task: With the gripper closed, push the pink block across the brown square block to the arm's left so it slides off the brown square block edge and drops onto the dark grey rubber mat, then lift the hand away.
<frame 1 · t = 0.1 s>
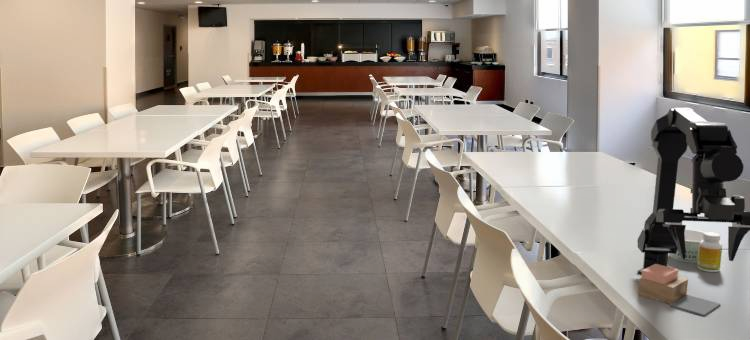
hand: (707, 259, 133), 15 cm above the table, tool pointing down, fingers open, 9 cm apart
food container: (687, 258, 183), on the table
brown square block: (662, 294, 155), on the table
supplement bottle: (708, 269, 173), on the table
mat: (695, 305, 149), on the table
pink block: (659, 277, 155), point 4 cm above the table, touching brown square block
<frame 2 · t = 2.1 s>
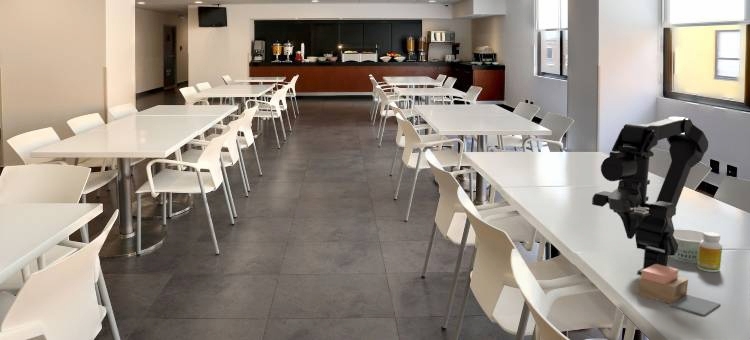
hand: (630, 238, 159), 12 cm above the table, tool pointing down, fingers closed
nothing on the table moved.
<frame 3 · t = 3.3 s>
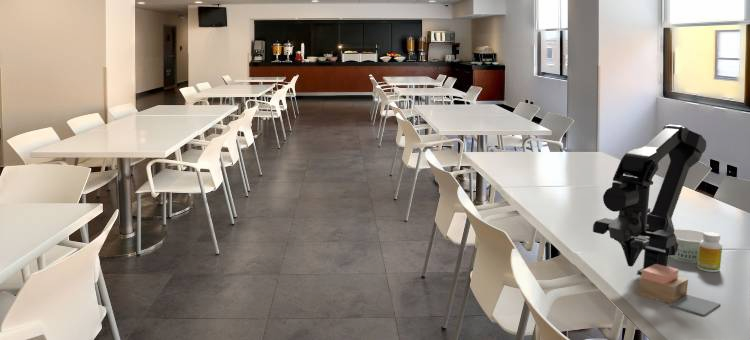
hand: (630, 266, 160), 5 cm above the table, tool pointing down, fingers closed
nothing on the table moved.
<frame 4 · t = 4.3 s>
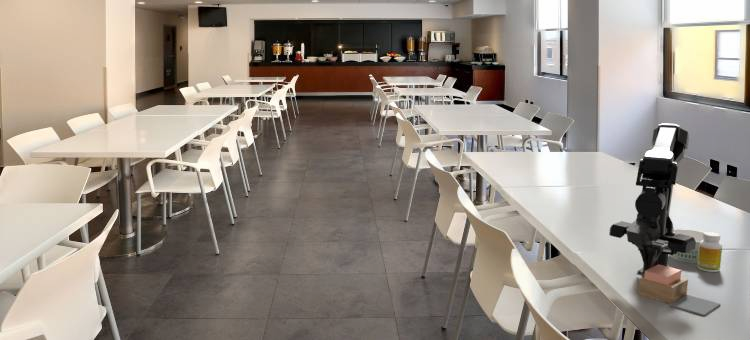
hand: (648, 270, 157), 5 cm above the table, tool pointing down, fingers closed
pink block: (662, 278, 155), point 4 cm above the table, touching gripper
everything else where it was.
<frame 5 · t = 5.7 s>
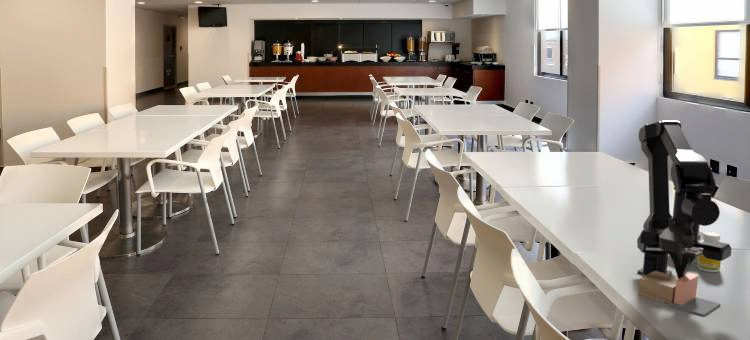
hand: (680, 278, 151), 5 cm above the table, tool pointing down, fingers closed
pink block: (681, 287, 151), point 3 cm above the table, tilted 92°, touching gripper, mat
everything else where it was.
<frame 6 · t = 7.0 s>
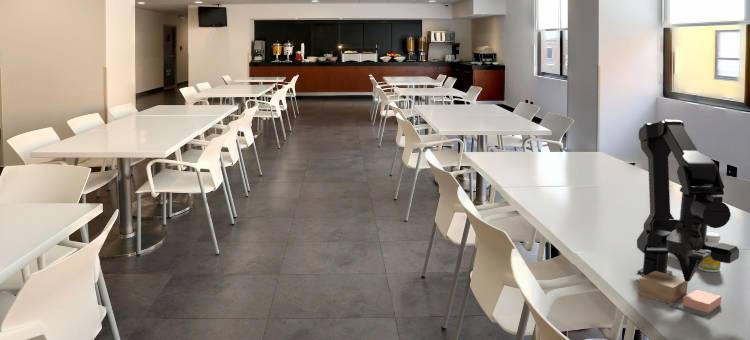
hand: (687, 281, 150), 5 cm above the table, tool pointing down, fingers closed
pink block: (702, 296, 148), point 2 cm above the table, tilted 180°, touching mat
everything else where it was.
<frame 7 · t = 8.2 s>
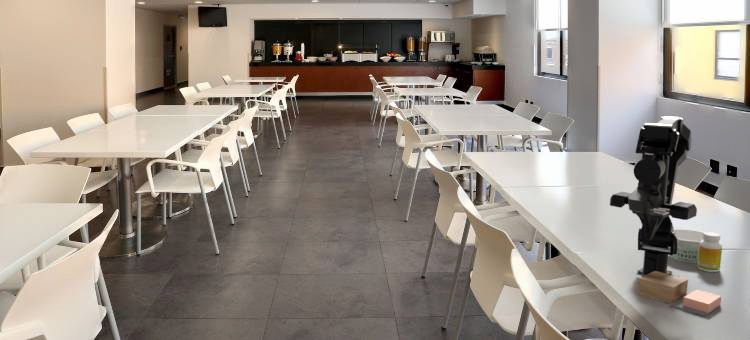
hand: (649, 239, 157), 12 cm above the table, tool pointing down, fingers closed
nothing on the table moved.
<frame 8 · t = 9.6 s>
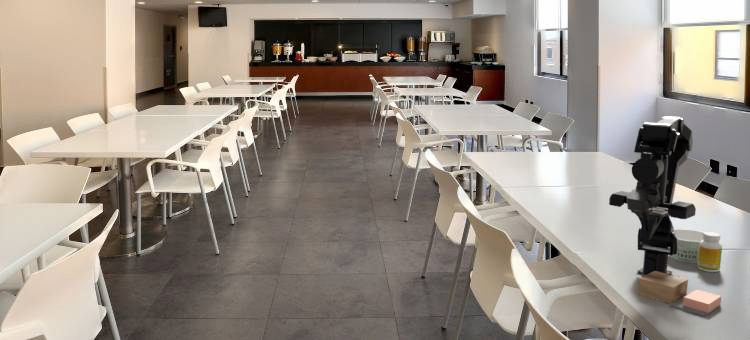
hand: (648, 239, 157), 12 cm above the table, tool pointing down, fingers closed
nothing on the table moved.
at the end: pink block point 2.4 cm above the table; pink block inside the target area on the mat (1.1 cm from its centre), point 2.4 cm above the mat's base; pink block touching mat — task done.
